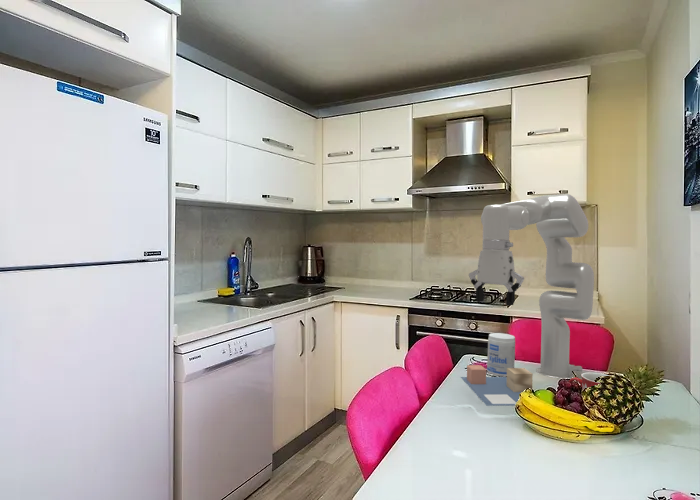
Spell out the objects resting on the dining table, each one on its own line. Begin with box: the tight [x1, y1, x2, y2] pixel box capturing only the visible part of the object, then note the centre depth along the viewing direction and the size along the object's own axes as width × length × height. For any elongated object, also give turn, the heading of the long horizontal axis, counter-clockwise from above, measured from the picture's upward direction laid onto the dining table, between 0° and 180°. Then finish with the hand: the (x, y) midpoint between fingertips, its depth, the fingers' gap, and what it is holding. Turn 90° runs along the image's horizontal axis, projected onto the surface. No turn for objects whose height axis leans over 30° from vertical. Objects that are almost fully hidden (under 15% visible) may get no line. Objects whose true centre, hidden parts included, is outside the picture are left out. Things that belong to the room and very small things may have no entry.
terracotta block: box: [466, 364, 487, 384], centre depth 146 cm, size 5×5×5 cm
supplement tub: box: [486, 332, 516, 377], centre depth 157 cm, size 10×10×15 cm
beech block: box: [506, 367, 534, 392], centre depth 139 cm, size 6×6×6 cm
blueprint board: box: [460, 376, 521, 407], centre depth 138 cm, size 20×26×1 cm
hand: (494, 303), depth 126 cm, fingers open, 9 cm apart
